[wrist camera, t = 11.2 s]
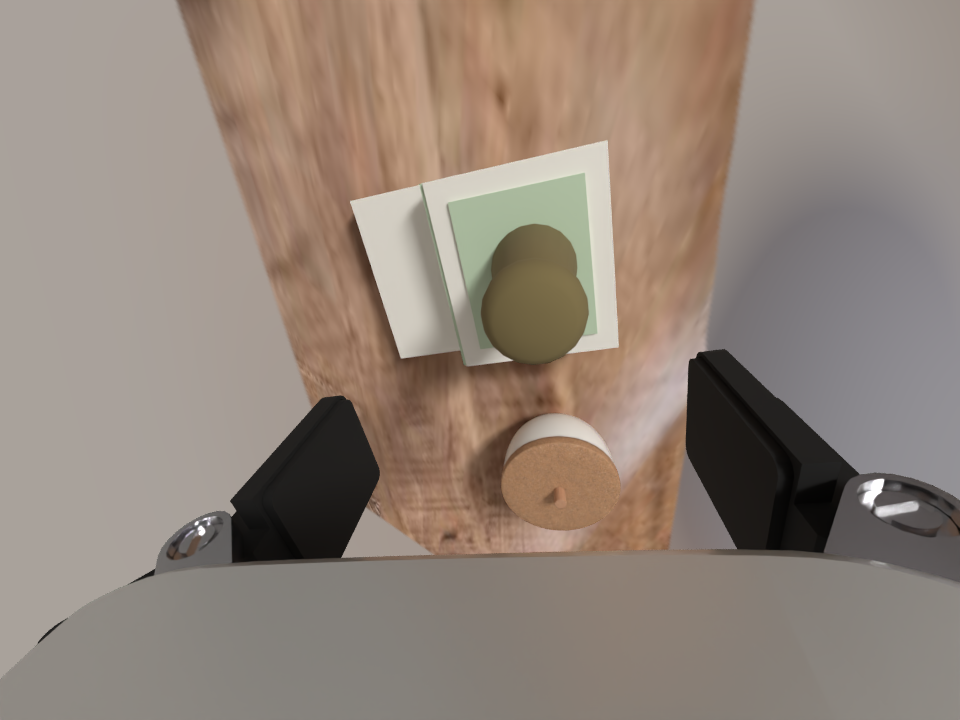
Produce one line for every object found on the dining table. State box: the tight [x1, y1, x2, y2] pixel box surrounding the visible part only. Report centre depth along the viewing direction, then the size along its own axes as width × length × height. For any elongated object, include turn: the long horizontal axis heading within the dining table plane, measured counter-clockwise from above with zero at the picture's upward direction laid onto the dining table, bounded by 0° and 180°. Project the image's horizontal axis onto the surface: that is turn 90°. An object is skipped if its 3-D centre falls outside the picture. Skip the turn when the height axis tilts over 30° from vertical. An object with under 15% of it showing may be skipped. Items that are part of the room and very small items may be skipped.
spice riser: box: [350, 140, 619, 366], centre depth 31 cm, size 14×19×7 cm
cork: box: [481, 224, 589, 365], centre depth 22 cm, size 6×6×11 cm
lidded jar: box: [501, 413, 621, 530], centre depth 37 cm, size 11×11×9 cm
